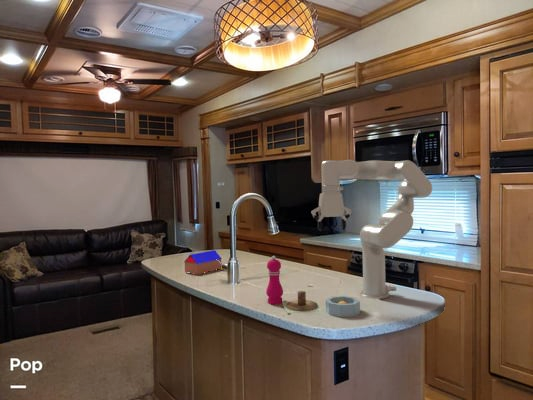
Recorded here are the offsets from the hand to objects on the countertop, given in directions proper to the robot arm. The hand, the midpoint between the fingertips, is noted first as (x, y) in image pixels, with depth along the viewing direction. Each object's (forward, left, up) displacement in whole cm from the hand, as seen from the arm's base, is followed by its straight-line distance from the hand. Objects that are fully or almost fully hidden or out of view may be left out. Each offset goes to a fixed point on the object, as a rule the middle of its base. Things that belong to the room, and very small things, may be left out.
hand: (331, 230), depth 165 cm
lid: (+15, +6, -30) cm, 34 cm away
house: (+59, -79, -31) cm, 103 cm away
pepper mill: (+25, -4, -31) cm, 39 cm away
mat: (+15, +6, -30) cm, 34 cm away
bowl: (+1, +16, -30) cm, 34 cm away
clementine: (+1, +16, -30) cm, 34 cm away
